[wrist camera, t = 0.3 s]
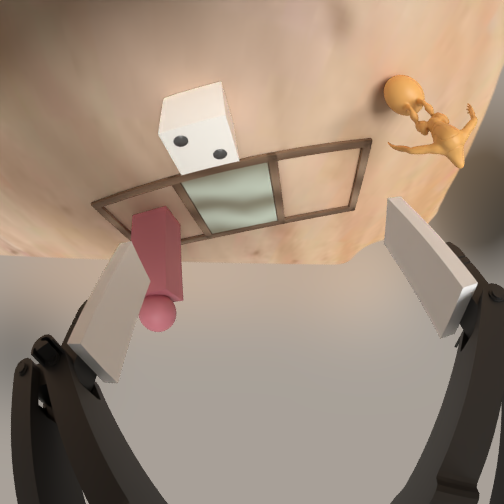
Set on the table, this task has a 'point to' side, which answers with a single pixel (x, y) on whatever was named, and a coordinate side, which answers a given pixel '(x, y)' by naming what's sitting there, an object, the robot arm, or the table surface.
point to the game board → (240, 192)
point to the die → (198, 129)
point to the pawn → (159, 265)
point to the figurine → (444, 135)
